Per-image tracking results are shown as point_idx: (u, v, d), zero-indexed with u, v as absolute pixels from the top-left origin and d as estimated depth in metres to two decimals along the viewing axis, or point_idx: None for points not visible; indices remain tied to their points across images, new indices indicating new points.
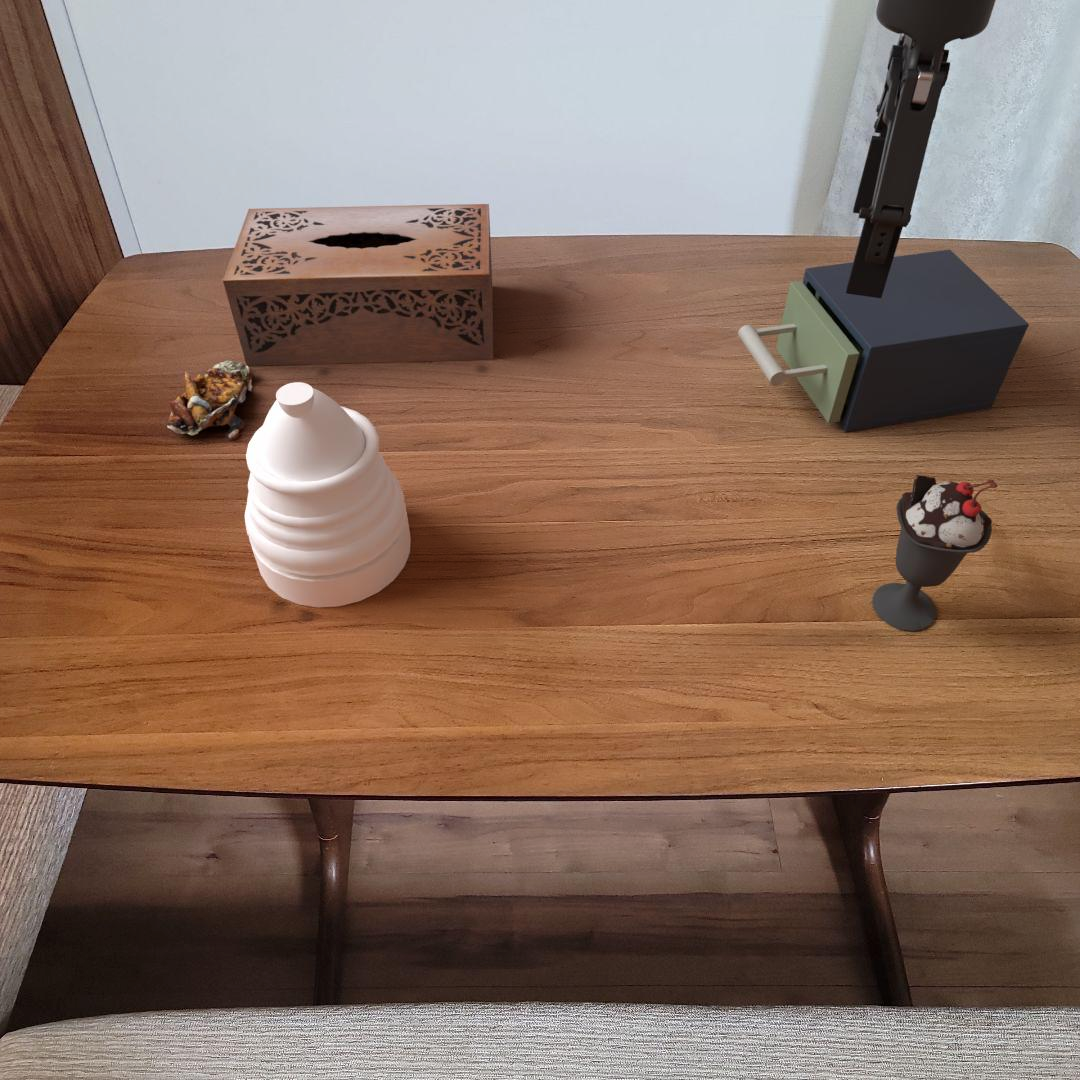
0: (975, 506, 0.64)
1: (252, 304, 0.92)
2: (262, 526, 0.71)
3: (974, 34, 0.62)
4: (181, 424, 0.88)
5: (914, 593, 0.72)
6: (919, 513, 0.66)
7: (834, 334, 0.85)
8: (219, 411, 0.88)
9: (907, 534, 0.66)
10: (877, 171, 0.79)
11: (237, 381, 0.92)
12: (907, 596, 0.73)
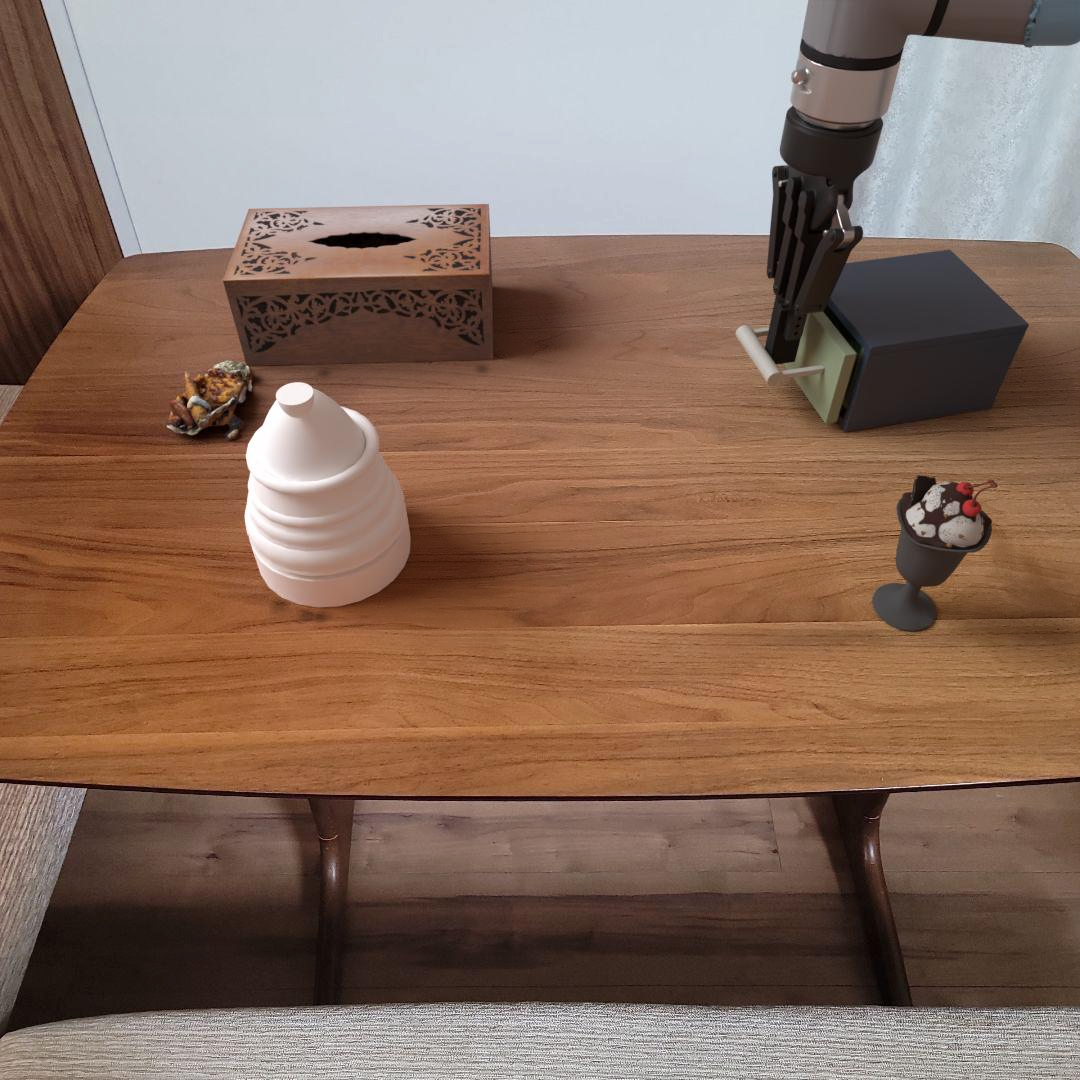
0: (975, 506, 0.64)
1: (252, 304, 0.92)
2: (262, 526, 0.71)
3: (870, 165, 0.74)
4: (181, 424, 0.88)
5: (914, 593, 0.72)
6: (919, 513, 0.66)
7: (831, 334, 0.85)
8: (219, 411, 0.88)
9: (907, 534, 0.66)
10: None
11: (237, 381, 0.92)
12: (907, 596, 0.73)
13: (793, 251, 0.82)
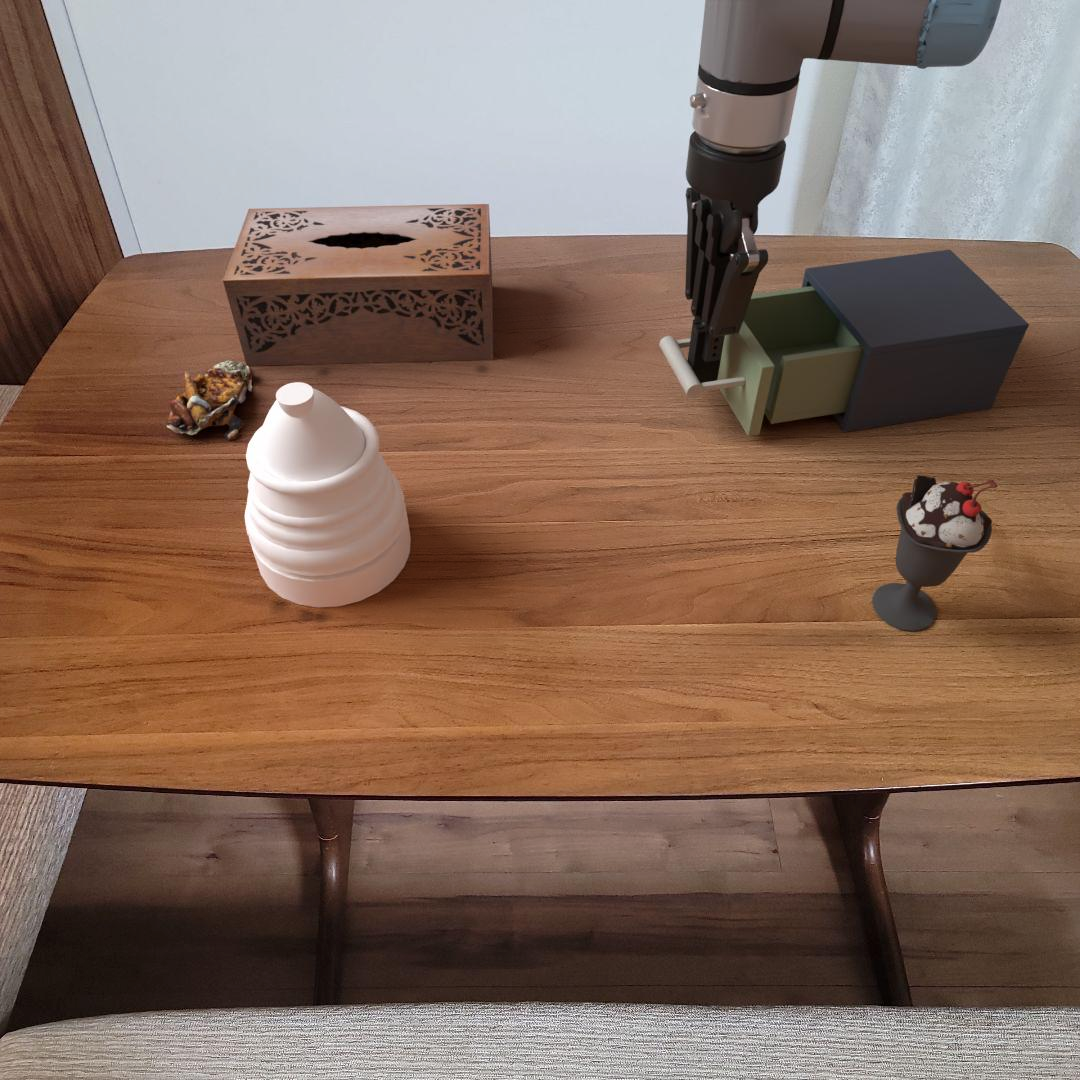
0: (975, 506, 0.64)
1: (252, 304, 0.92)
2: (262, 526, 0.71)
3: (775, 188, 0.74)
4: (180, 424, 0.88)
5: (914, 593, 0.72)
6: (919, 513, 0.66)
7: (751, 346, 0.84)
8: (218, 411, 0.88)
9: (907, 534, 0.66)
10: None
11: (237, 381, 0.92)
12: (907, 596, 0.73)
13: (707, 273, 0.82)
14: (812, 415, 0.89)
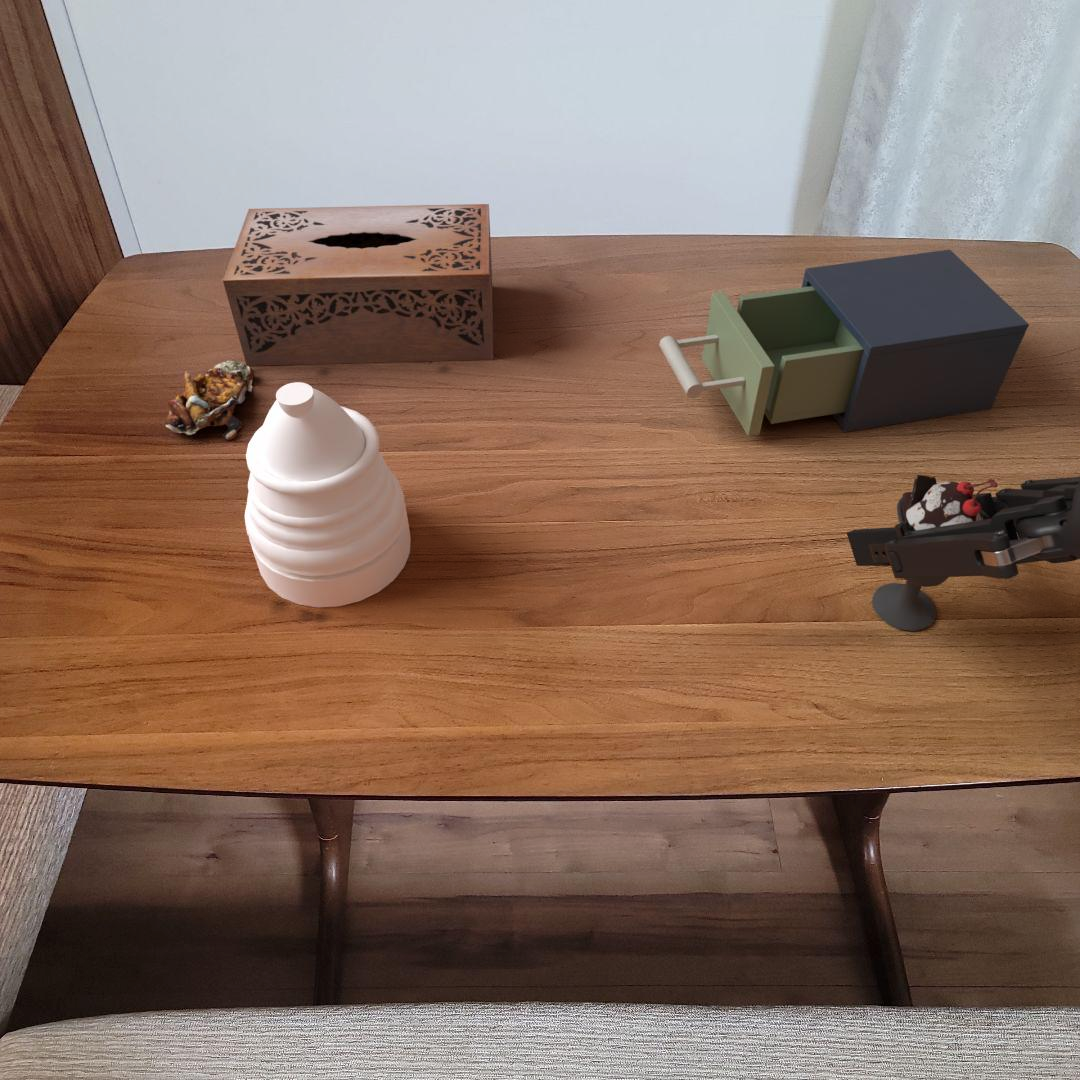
0: (975, 506, 0.64)
1: (252, 304, 0.92)
2: (262, 526, 0.71)
3: None
4: (179, 423, 0.88)
5: (914, 593, 0.72)
6: (919, 513, 0.66)
7: (751, 346, 0.84)
8: (217, 411, 0.88)
9: None
10: None
11: (237, 381, 0.92)
12: (907, 596, 0.73)
13: None
14: (812, 415, 0.89)
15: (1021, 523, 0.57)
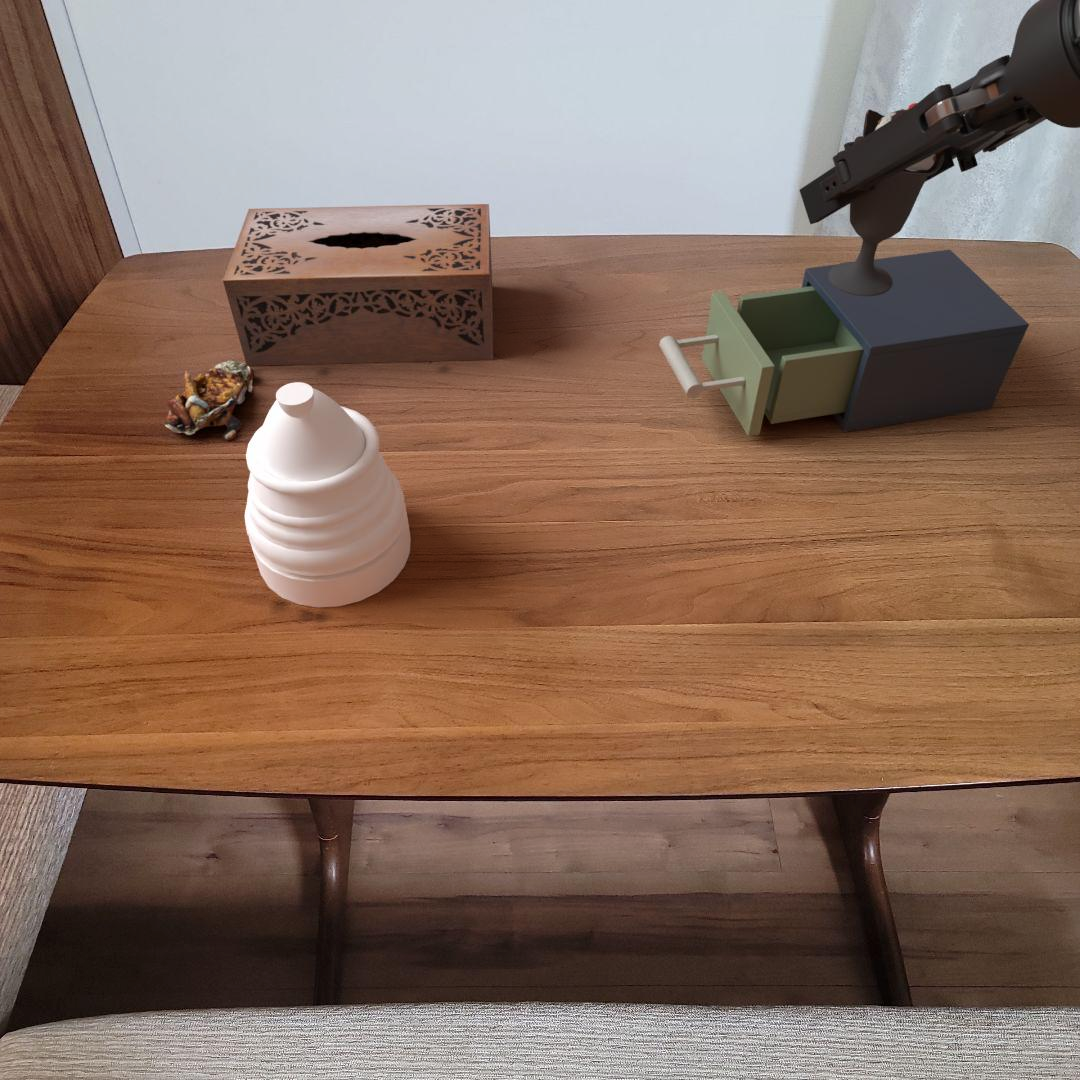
0: None
1: (252, 304, 0.92)
2: (262, 526, 0.71)
3: None
4: (178, 423, 0.88)
5: (869, 256, 0.71)
6: None
7: (751, 346, 0.84)
8: (216, 411, 0.88)
9: None
10: None
11: (237, 382, 0.92)
12: (862, 260, 0.71)
13: None
14: (812, 415, 0.89)
15: None
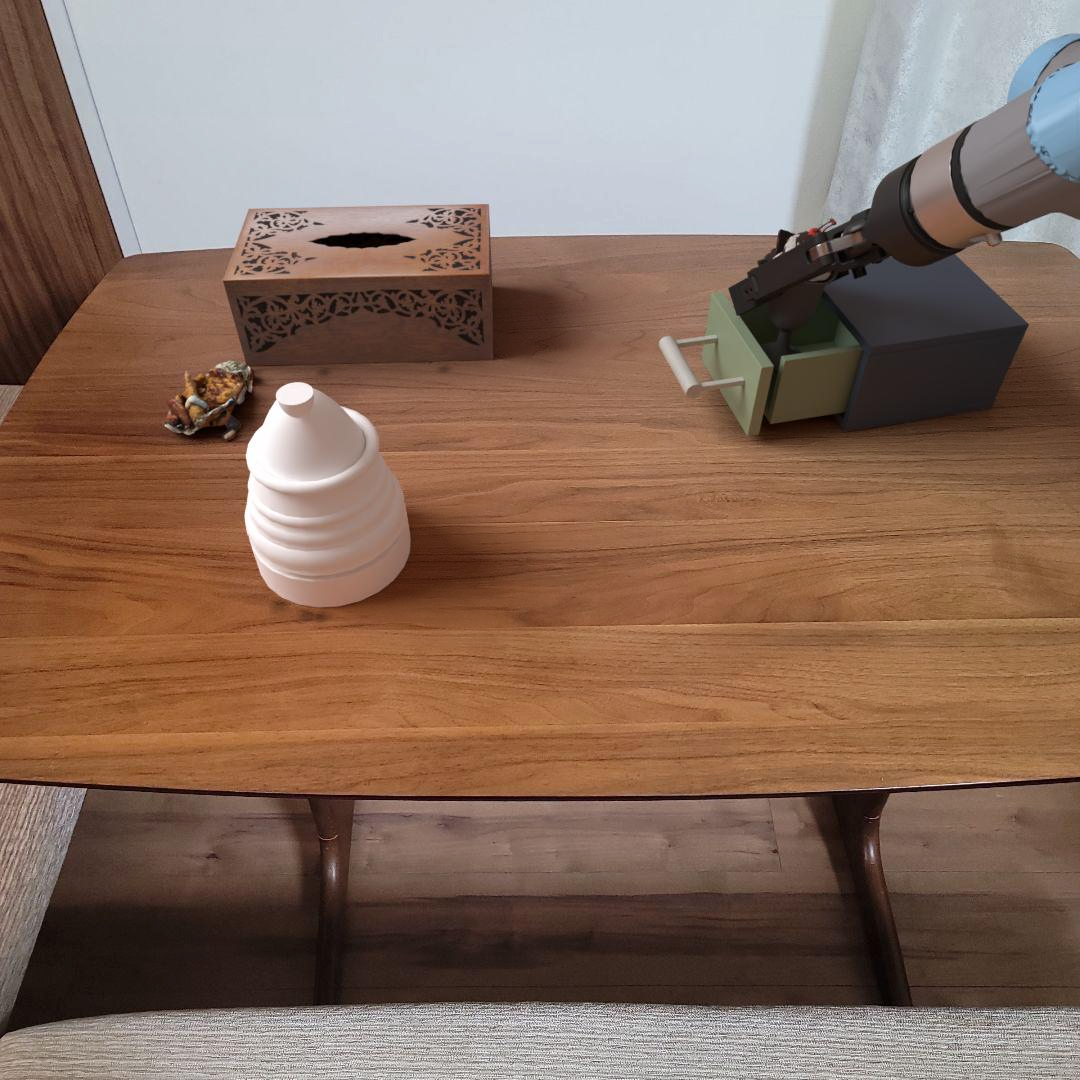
0: None
1: (252, 304, 0.92)
2: (262, 526, 0.71)
3: None
4: (178, 423, 0.88)
5: (785, 341, 0.88)
6: None
7: (750, 346, 0.84)
8: (216, 412, 0.88)
9: None
10: None
11: (237, 382, 0.92)
12: (780, 344, 0.88)
13: None
14: (811, 415, 0.89)
15: None
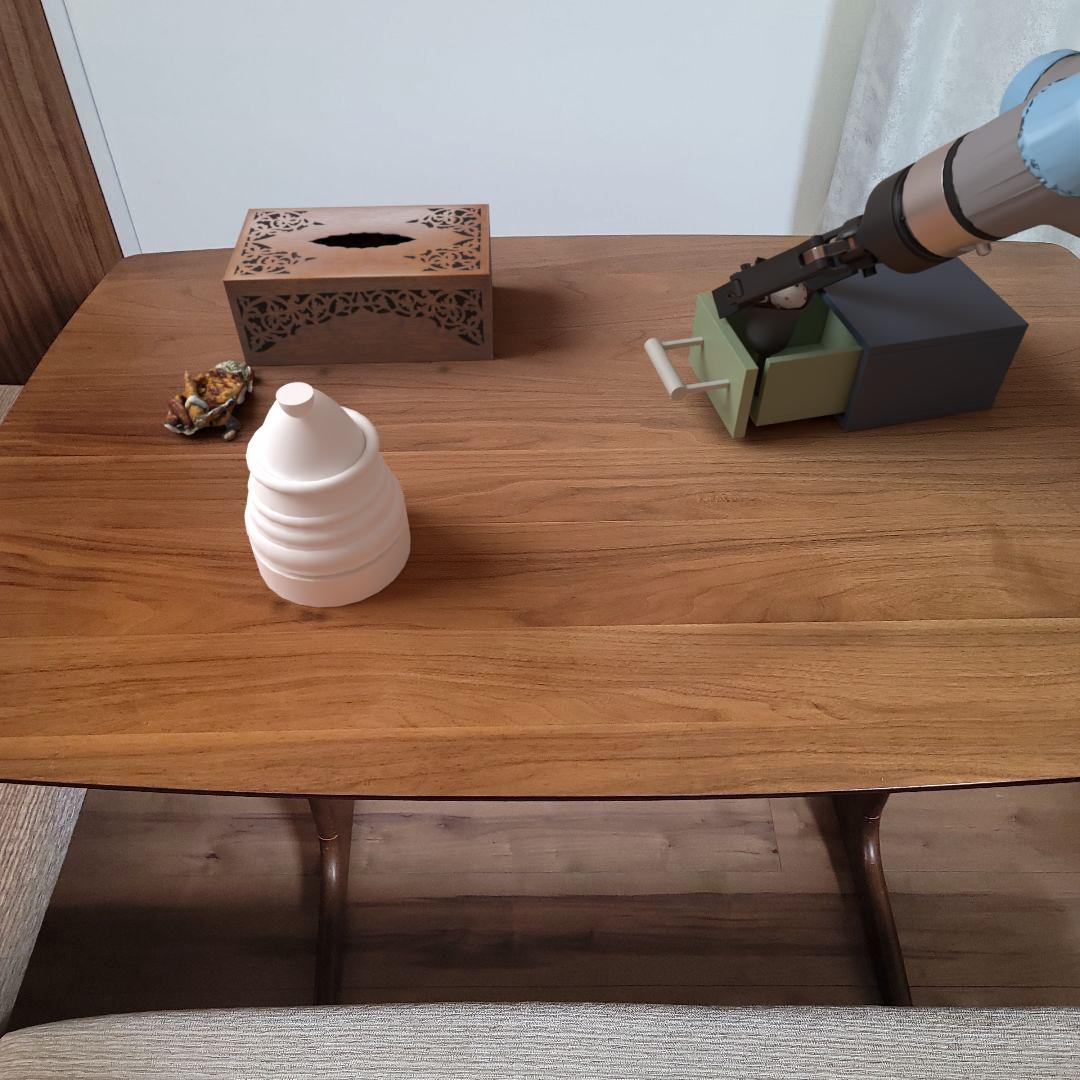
0: None
1: (252, 304, 0.92)
2: (262, 526, 0.71)
3: None
4: (178, 423, 0.88)
5: (764, 364, 0.89)
6: None
7: (735, 348, 0.84)
8: (215, 411, 0.88)
9: None
10: None
11: (237, 382, 0.92)
12: (759, 368, 0.90)
13: None
14: (797, 417, 0.88)
15: None
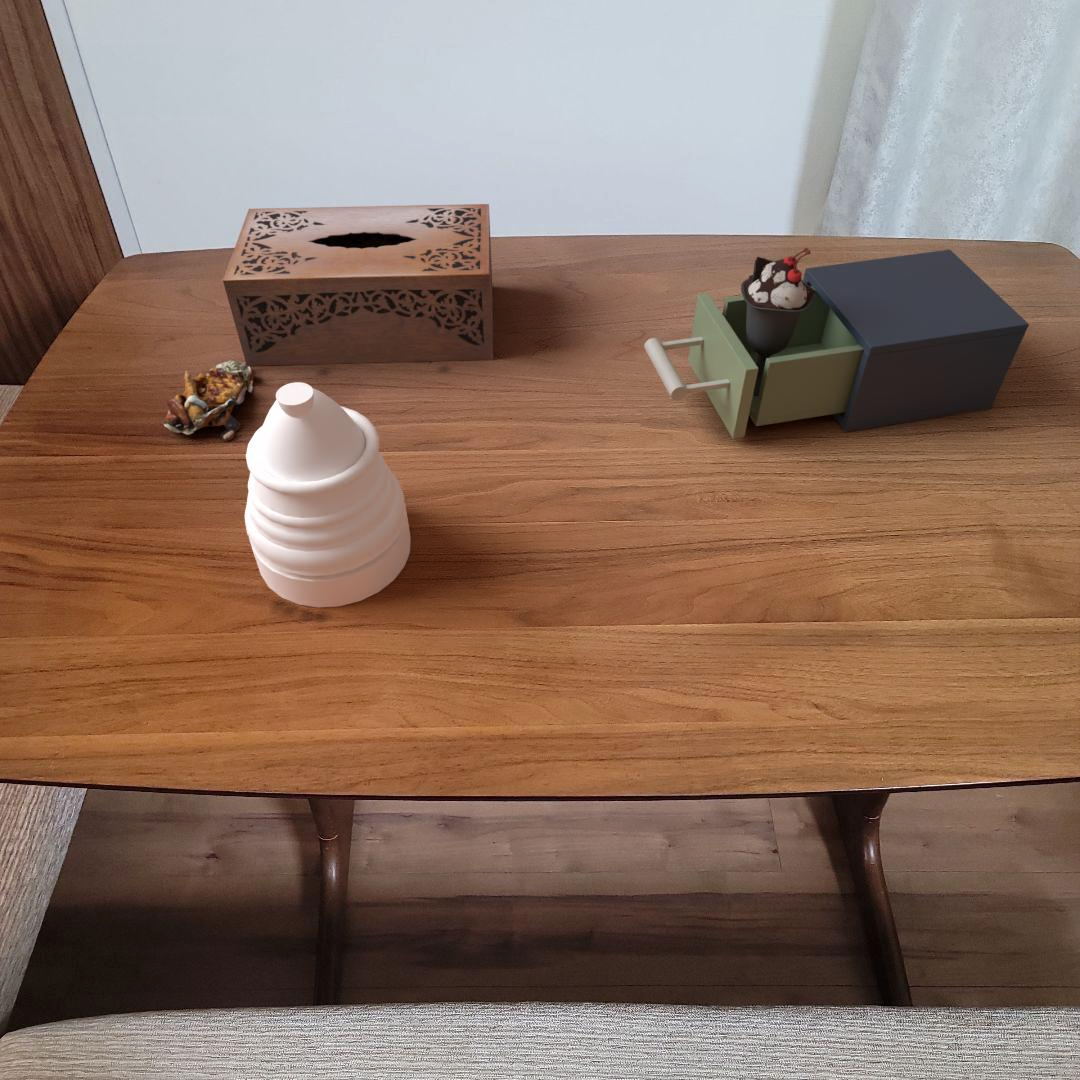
0: (796, 273, 0.81)
1: (252, 304, 0.92)
2: (262, 526, 0.71)
3: None
4: (177, 423, 0.88)
5: (764, 364, 0.89)
6: (757, 285, 0.83)
7: (735, 348, 0.84)
8: (215, 412, 0.88)
9: (747, 301, 0.83)
10: None
11: (237, 382, 0.92)
12: (759, 368, 0.90)
13: None
14: (797, 417, 0.88)
15: None
